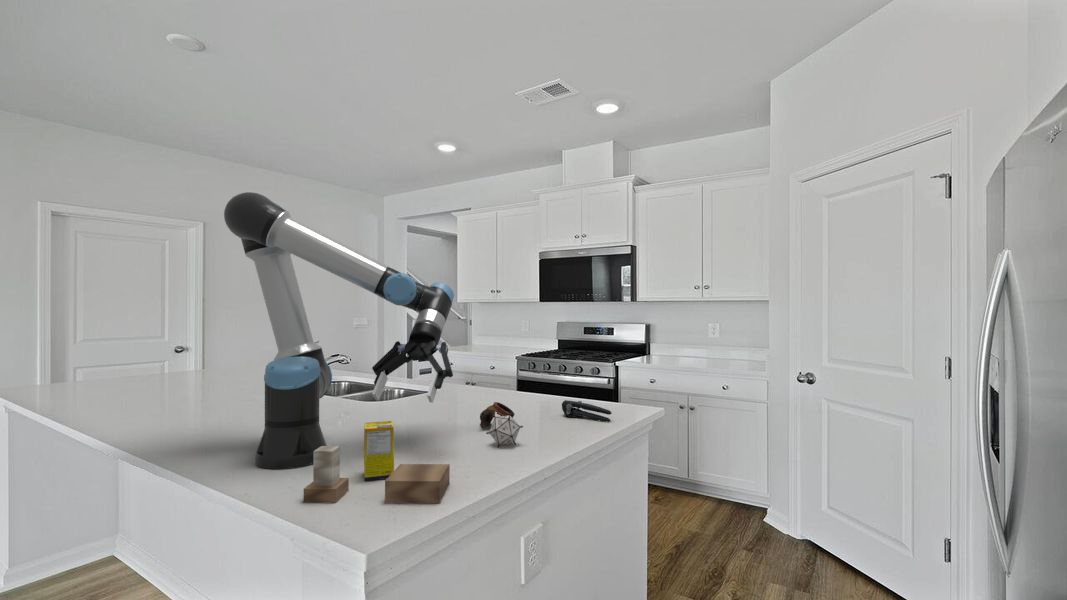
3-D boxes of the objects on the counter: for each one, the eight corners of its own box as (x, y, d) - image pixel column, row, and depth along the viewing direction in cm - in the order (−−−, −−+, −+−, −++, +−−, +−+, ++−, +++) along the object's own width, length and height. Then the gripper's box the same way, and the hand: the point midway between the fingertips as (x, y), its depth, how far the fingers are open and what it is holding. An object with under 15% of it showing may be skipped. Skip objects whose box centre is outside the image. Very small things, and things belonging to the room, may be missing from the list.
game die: (510, 461, 130) (521, 435, 125) (479, 449, 130) (489, 422, 125) (518, 436, 138) (529, 410, 132) (489, 425, 138) (498, 399, 133)
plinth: (384, 502, 93) (384, 480, 93) (400, 483, 102) (400, 463, 103) (439, 503, 92) (439, 481, 92) (449, 484, 102) (449, 464, 102)
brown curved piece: (487, 423, 158) (501, 400, 158) (509, 441, 153) (523, 417, 153) (466, 421, 148) (480, 396, 148) (488, 439, 143) (503, 414, 143)
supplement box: (392, 469, 111) (392, 420, 112) (394, 478, 106) (394, 426, 106) (363, 472, 109) (364, 422, 110) (364, 481, 104) (364, 428, 104)
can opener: (557, 417, 165) (557, 400, 165) (568, 413, 171) (568, 397, 171) (605, 425, 155) (605, 406, 155) (616, 420, 160) (616, 403, 160)
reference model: (303, 502, 93) (303, 453, 93) (317, 490, 99) (318, 444, 99) (335, 502, 93) (336, 453, 93) (348, 490, 99) (348, 444, 99)
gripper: (476, 340, 133) (457, 409, 119) (388, 339, 138) (359, 405, 123) (469, 321, 128) (449, 390, 113) (378, 320, 133) (347, 387, 118)
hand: (402, 398), depth 118 cm, fingers open, 13 cm apart
